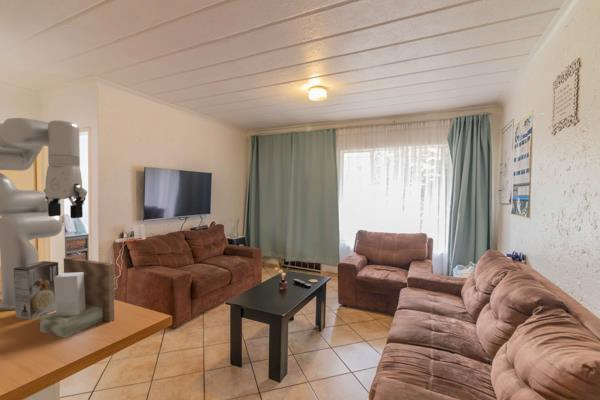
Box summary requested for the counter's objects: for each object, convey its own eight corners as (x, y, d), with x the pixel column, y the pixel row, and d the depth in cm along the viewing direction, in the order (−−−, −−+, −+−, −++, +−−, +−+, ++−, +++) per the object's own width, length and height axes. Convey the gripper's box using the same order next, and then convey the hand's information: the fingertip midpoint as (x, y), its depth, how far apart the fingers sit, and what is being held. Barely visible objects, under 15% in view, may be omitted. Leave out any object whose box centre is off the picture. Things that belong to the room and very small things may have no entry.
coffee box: (45, 305, 100) (44, 260, 99) (60, 308, 98) (59, 261, 97) (14, 317, 91) (12, 267, 90) (30, 320, 89) (29, 269, 88)
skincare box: (86, 309, 89) (85, 271, 88) (78, 316, 84) (78, 275, 84) (62, 311, 87) (62, 272, 87) (54, 318, 83) (53, 276, 82)
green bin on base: (24, 327, 85) (22, 267, 84) (69, 309, 97) (68, 257, 96) (72, 339, 79) (71, 275, 78) (114, 319, 91) (113, 263, 90)
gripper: (31, 161, 88) (32, 216, 89) (71, 161, 83) (72, 220, 84) (58, 163, 95) (59, 214, 96) (96, 163, 90) (97, 217, 91)
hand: (65, 216), depth 90 cm, fingers open, 9 cm apart
